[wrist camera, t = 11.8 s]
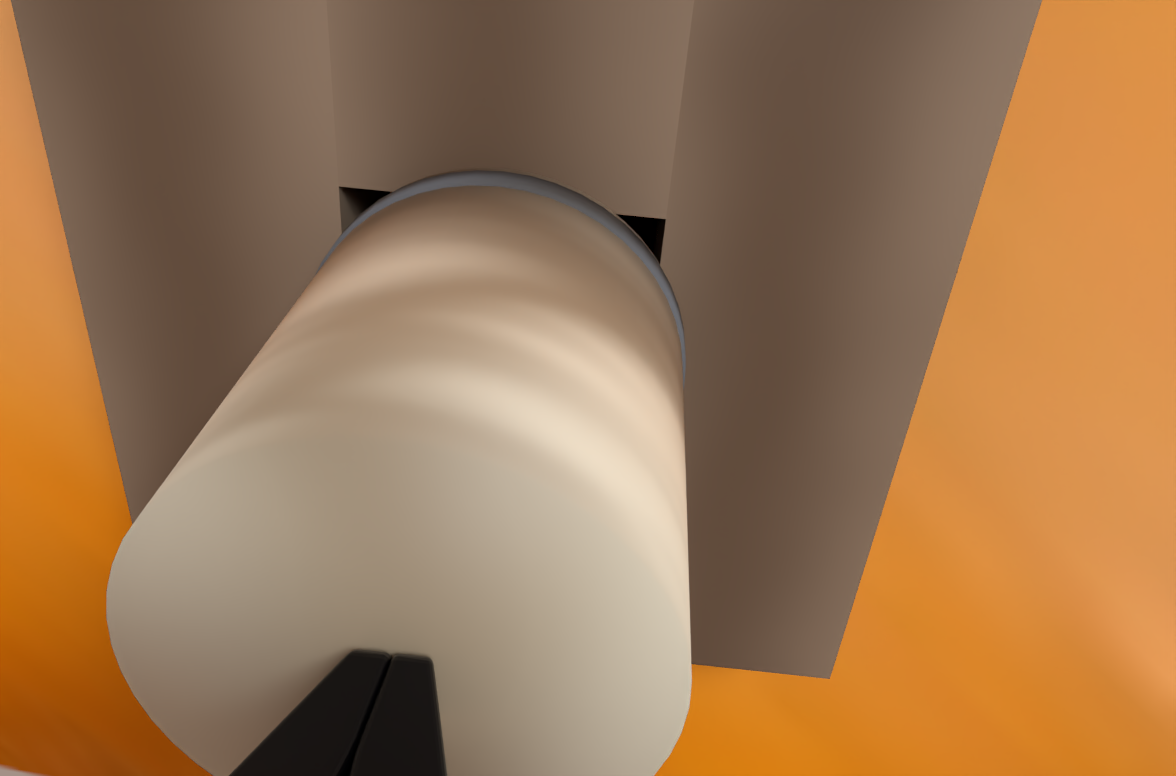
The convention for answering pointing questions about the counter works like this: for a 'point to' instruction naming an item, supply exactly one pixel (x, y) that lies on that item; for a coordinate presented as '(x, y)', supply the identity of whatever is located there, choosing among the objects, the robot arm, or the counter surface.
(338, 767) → the robot arm
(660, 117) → the socket board
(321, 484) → the beech leg
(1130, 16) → the counter surface
